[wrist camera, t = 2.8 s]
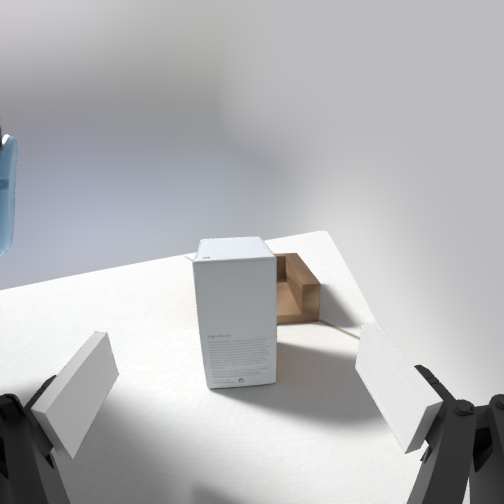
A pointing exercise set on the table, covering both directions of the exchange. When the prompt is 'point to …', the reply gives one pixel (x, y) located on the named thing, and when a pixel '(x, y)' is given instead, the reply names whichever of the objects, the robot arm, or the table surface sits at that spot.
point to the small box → (237, 311)
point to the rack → (296, 290)
